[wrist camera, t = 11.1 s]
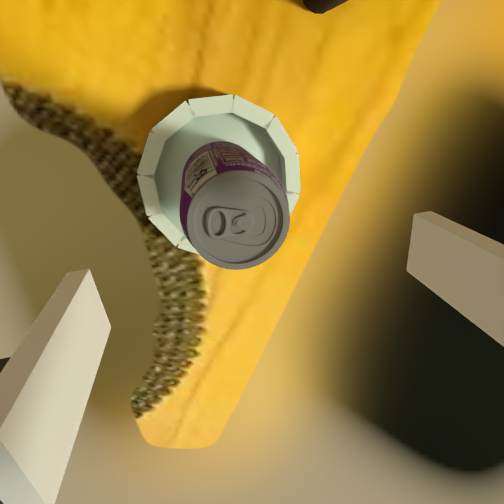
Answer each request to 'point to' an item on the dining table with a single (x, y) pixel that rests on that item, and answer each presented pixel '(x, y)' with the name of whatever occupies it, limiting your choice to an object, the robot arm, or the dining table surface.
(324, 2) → the camera
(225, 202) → the beverage can
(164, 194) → the tray
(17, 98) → the dining table surface
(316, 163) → the dining table surface
